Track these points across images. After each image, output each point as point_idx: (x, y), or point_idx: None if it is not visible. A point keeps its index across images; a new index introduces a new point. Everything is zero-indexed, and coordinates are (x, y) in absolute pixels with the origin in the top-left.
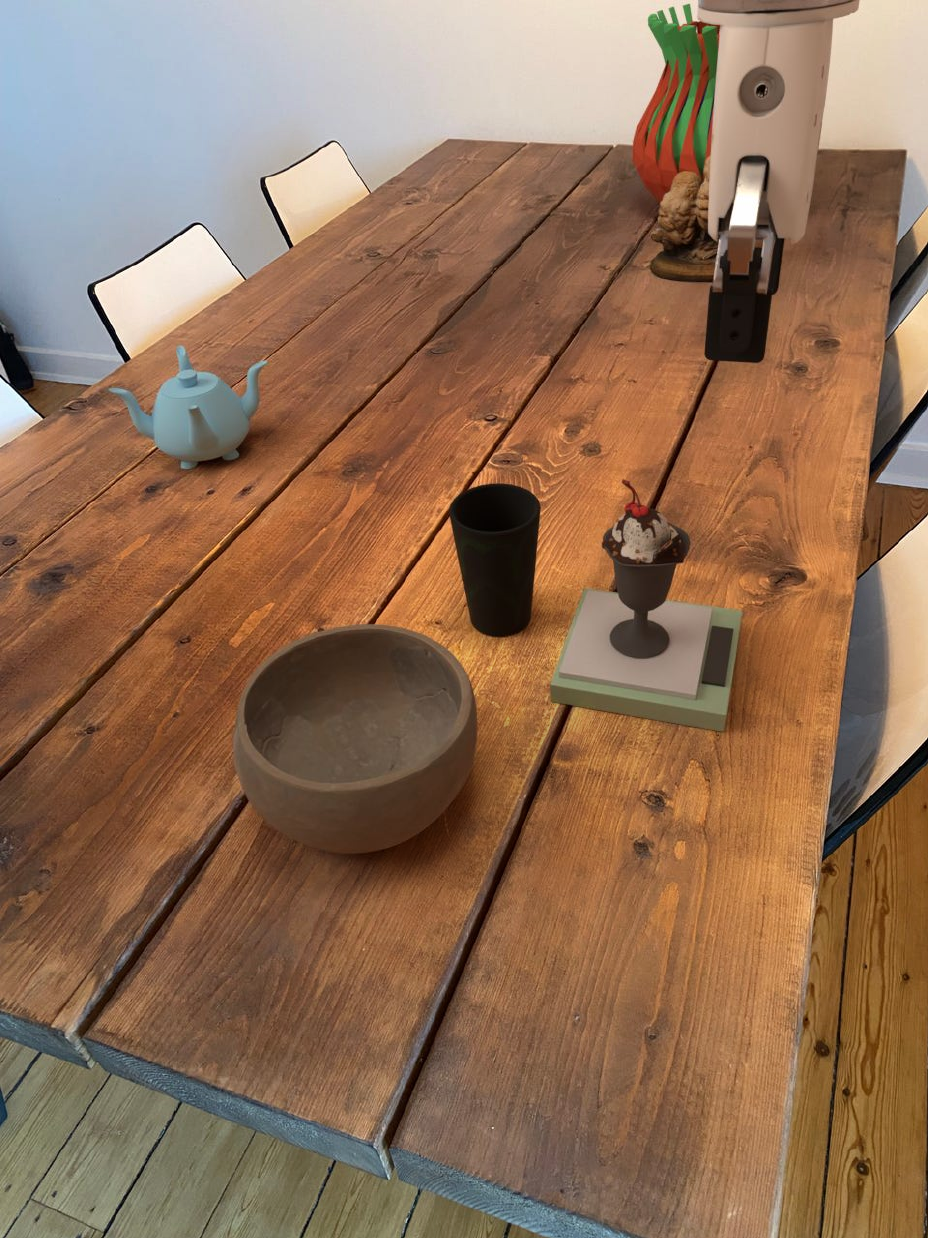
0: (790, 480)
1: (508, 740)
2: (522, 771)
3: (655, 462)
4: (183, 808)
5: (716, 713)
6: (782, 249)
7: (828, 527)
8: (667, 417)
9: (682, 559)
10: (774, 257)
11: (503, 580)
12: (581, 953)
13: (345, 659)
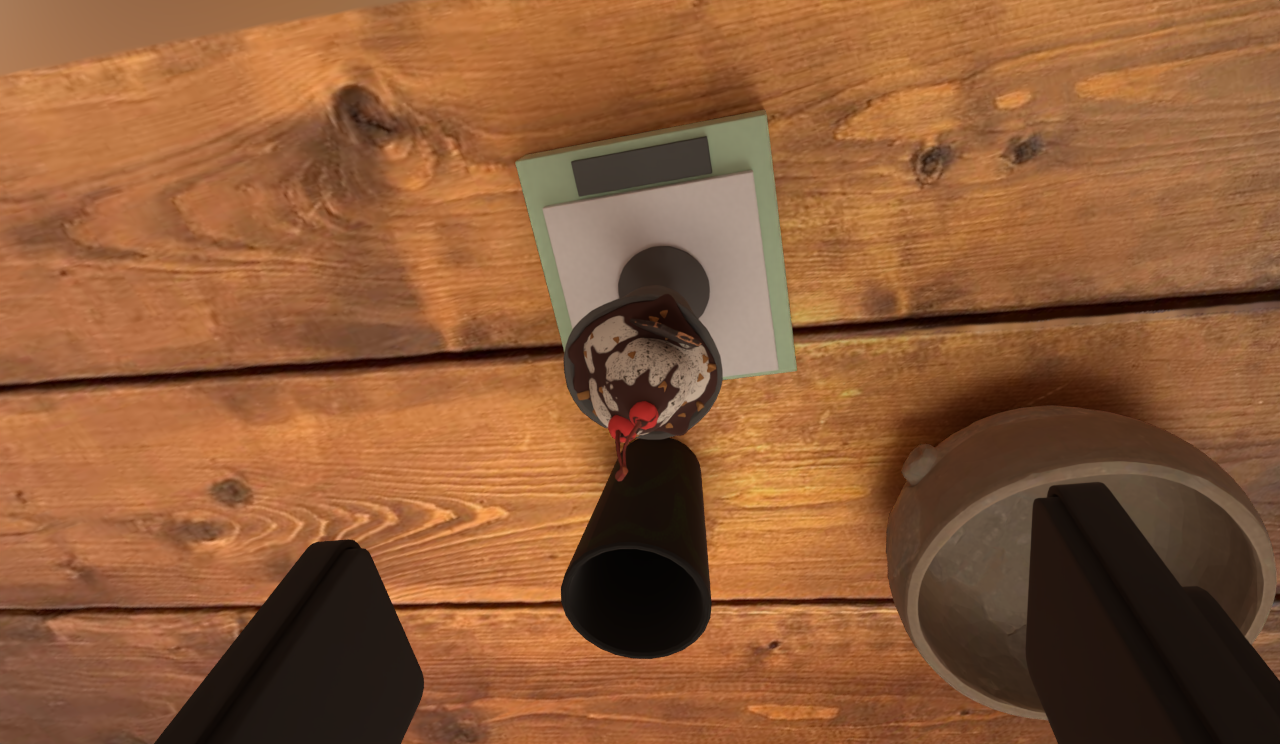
0: (108, 183)
1: (883, 379)
2: (933, 343)
3: (202, 398)
4: None
5: (767, 130)
6: (234, 692)
7: (195, 84)
8: (76, 419)
9: (669, 297)
10: (287, 686)
11: (695, 513)
12: (1221, 165)
13: (931, 626)
